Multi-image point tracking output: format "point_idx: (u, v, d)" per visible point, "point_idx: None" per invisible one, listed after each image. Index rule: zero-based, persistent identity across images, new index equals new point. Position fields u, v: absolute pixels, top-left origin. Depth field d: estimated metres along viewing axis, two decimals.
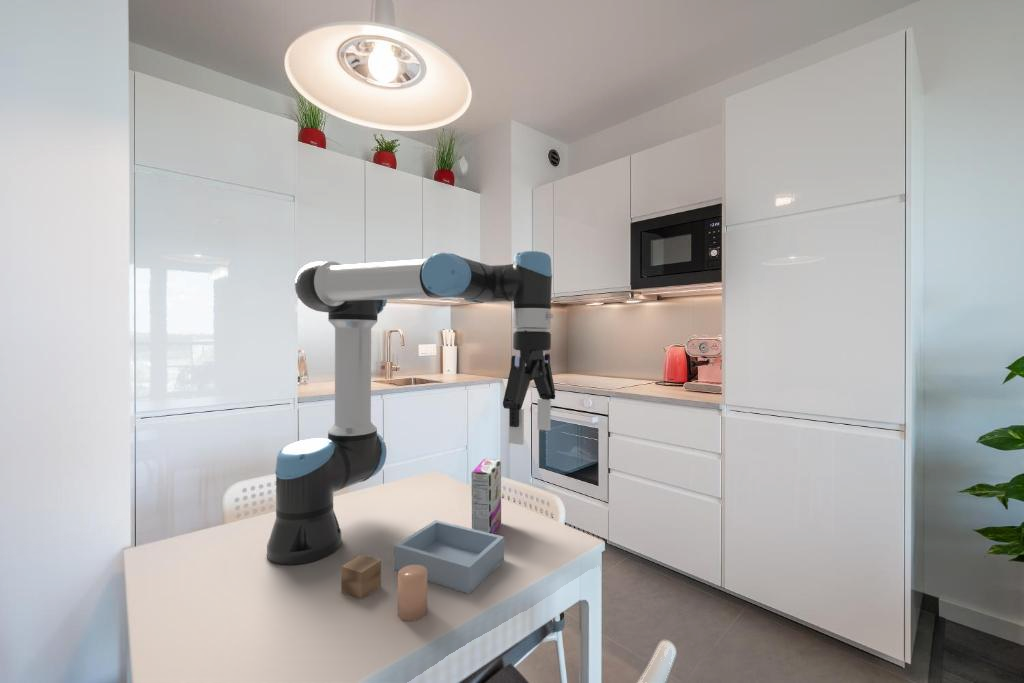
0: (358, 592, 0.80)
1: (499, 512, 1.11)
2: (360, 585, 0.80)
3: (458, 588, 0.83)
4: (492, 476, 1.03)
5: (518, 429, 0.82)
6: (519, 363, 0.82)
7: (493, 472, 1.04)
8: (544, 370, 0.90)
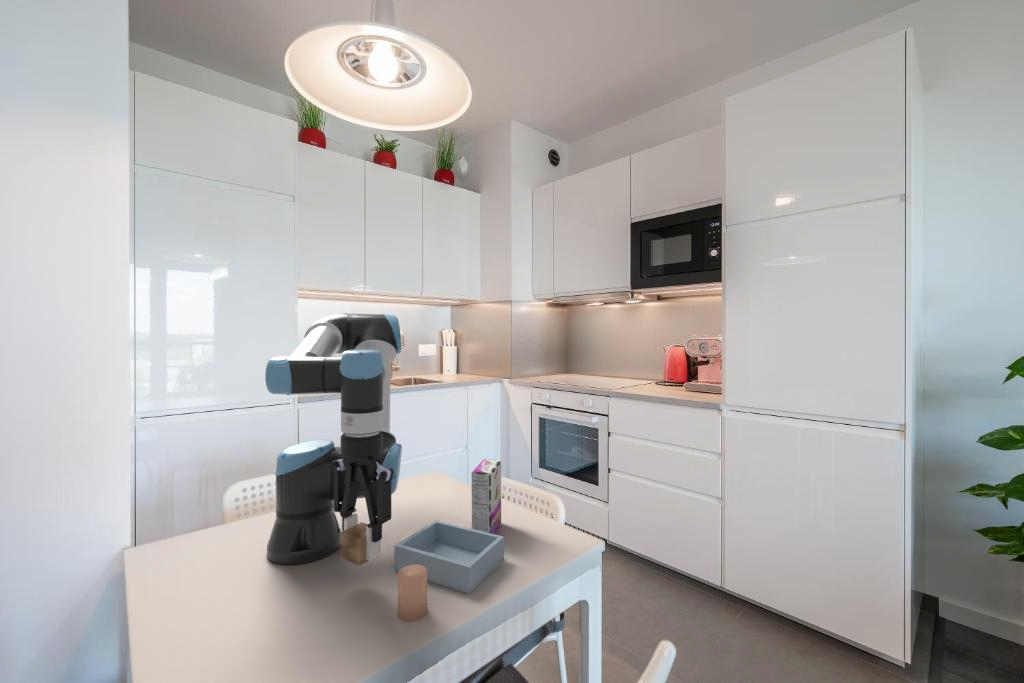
0: (357, 558, 0.80)
1: (499, 512, 1.11)
2: (359, 551, 0.80)
3: (458, 588, 0.83)
4: (492, 476, 1.03)
5: None
6: None
7: (493, 472, 1.04)
8: (362, 481, 0.81)
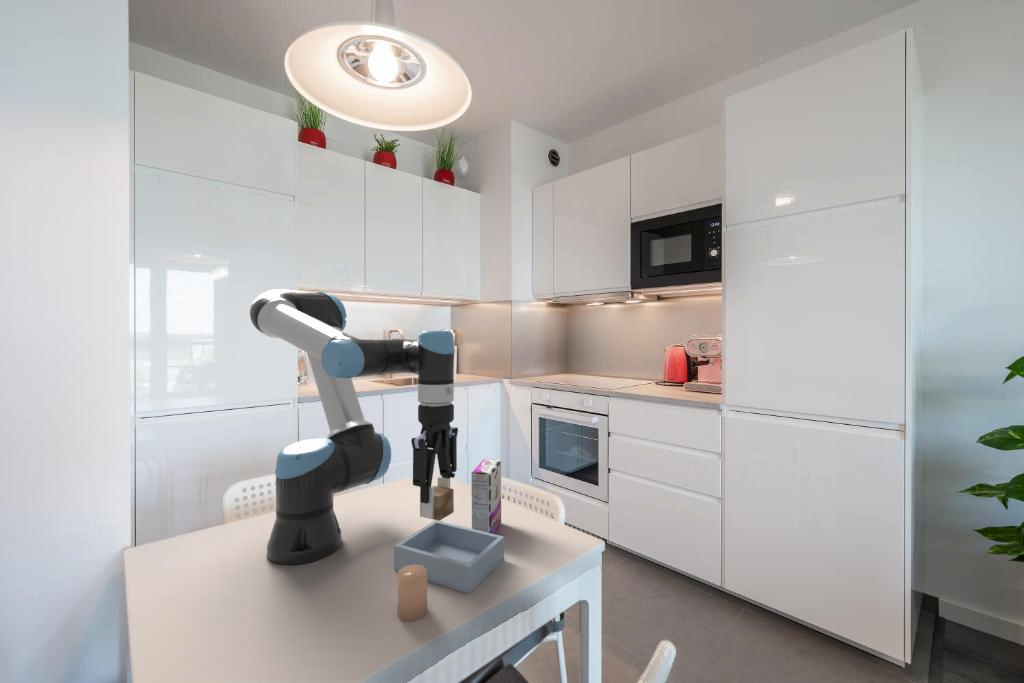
0: (451, 507, 0.94)
1: (499, 512, 1.11)
2: (453, 499, 0.94)
3: (458, 588, 0.83)
4: (492, 476, 1.03)
5: (428, 504, 0.91)
6: (419, 446, 0.88)
7: (493, 472, 1.04)
8: (447, 442, 0.94)
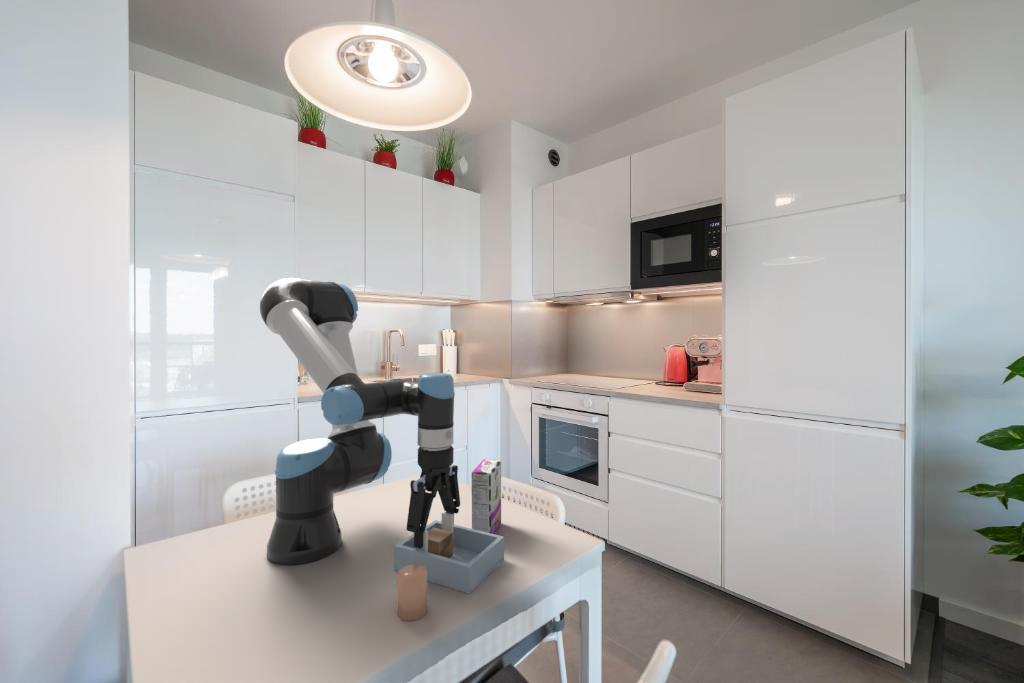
0: (450, 551, 0.94)
1: (499, 512, 1.11)
2: (452, 543, 0.95)
3: (458, 588, 0.83)
4: (492, 476, 1.03)
5: (422, 549, 0.89)
6: (417, 490, 0.88)
7: (493, 472, 1.04)
8: (447, 483, 0.95)
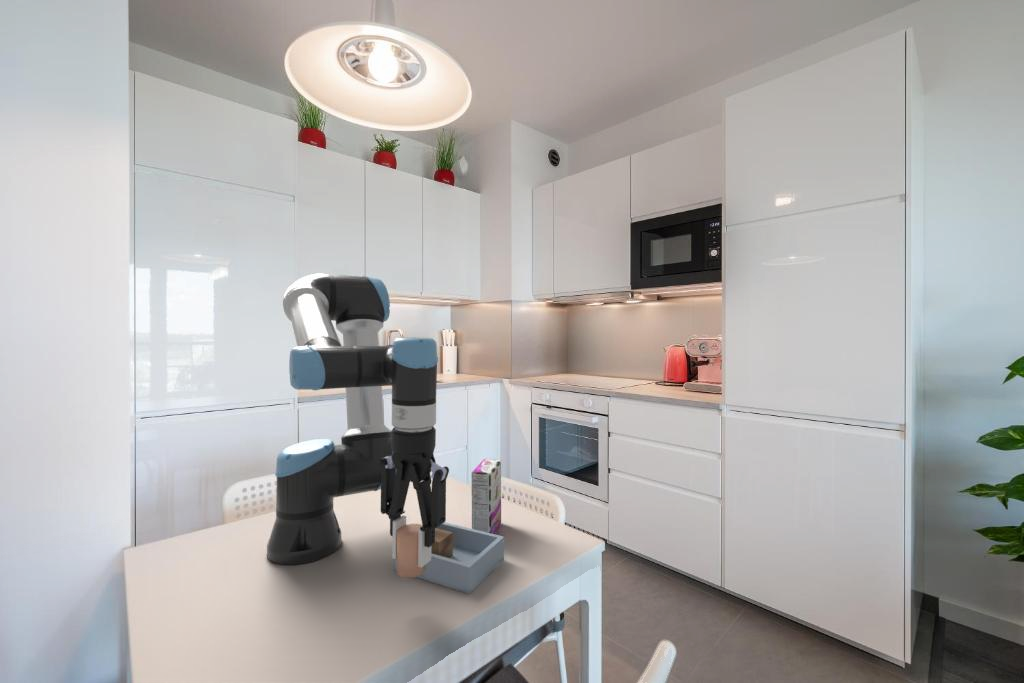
0: (450, 551, 0.94)
1: (499, 512, 1.11)
2: (452, 543, 0.95)
3: (458, 588, 0.83)
4: (492, 476, 1.03)
5: None
6: None
7: (493, 472, 1.04)
8: (414, 480, 0.74)
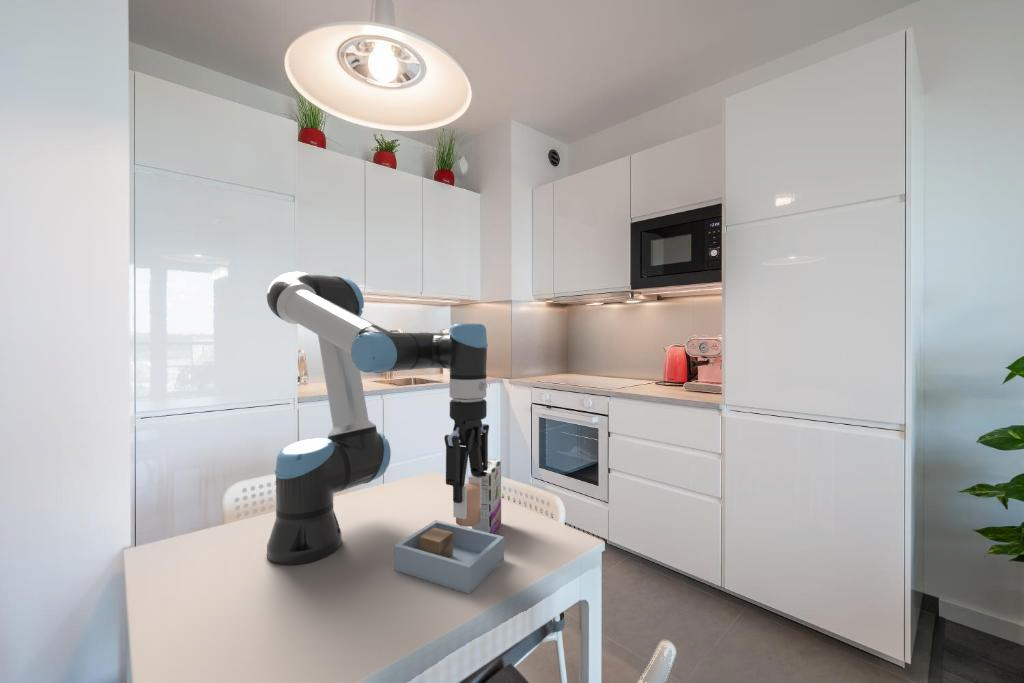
0: (450, 551, 0.94)
1: (499, 512, 1.11)
2: (452, 543, 0.95)
3: (458, 588, 0.83)
4: (492, 476, 1.03)
5: (461, 504, 0.87)
6: (452, 444, 0.84)
7: (493, 472, 1.04)
8: (479, 439, 0.91)
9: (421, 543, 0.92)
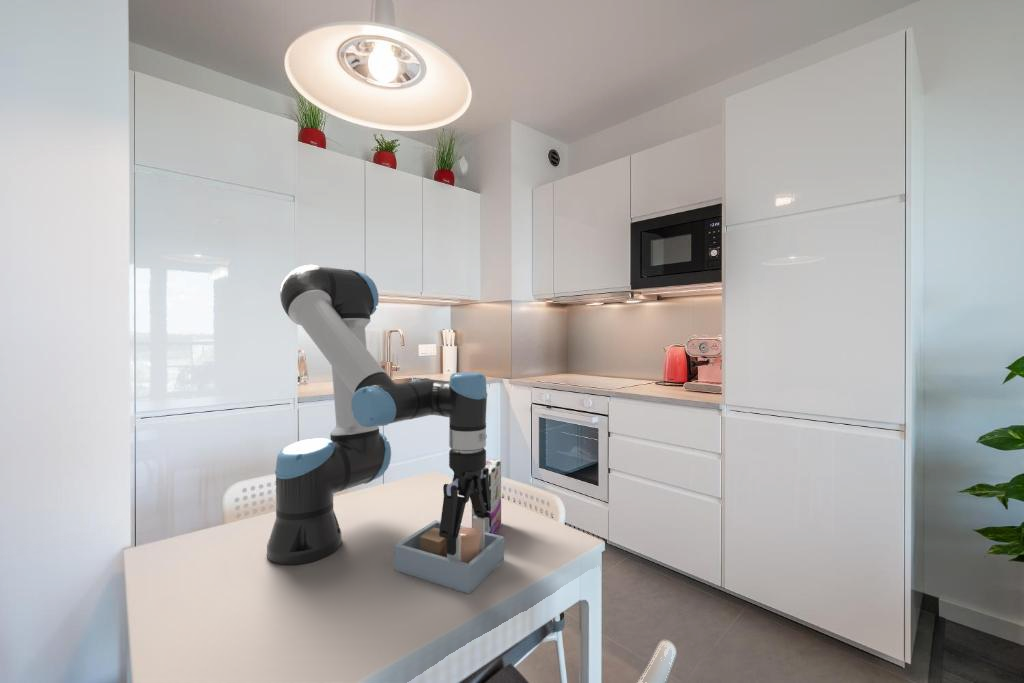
0: None
1: (499, 512, 1.11)
2: None
3: (458, 588, 0.83)
4: (492, 476, 1.03)
5: (455, 556, 0.86)
6: (450, 494, 0.84)
7: (493, 472, 1.04)
8: (479, 487, 0.91)
9: (421, 543, 0.92)
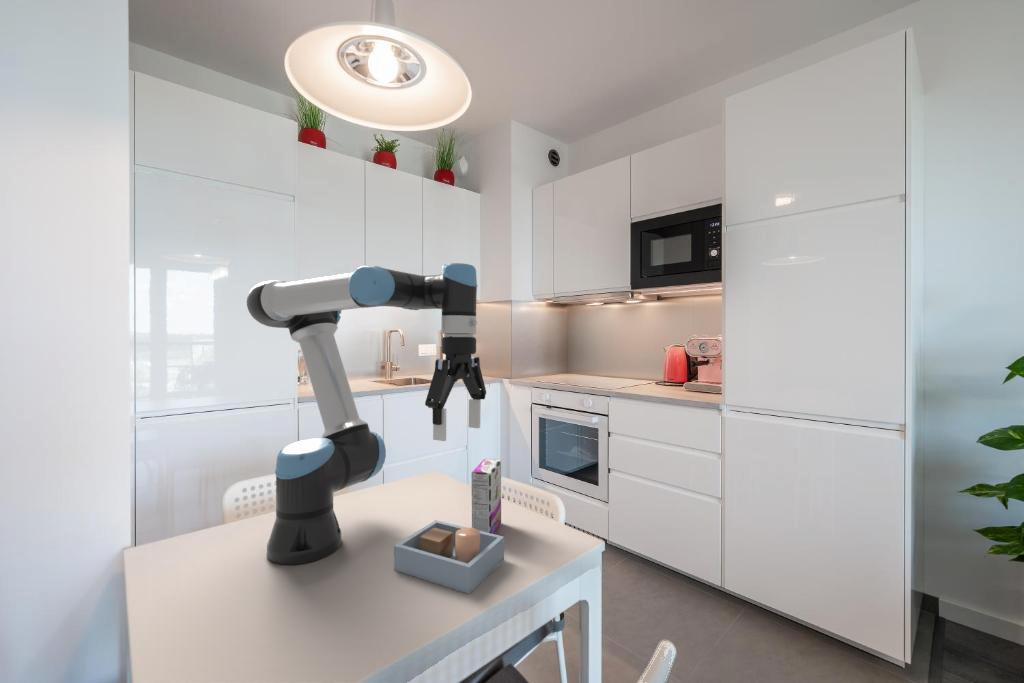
0: (450, 551, 0.94)
1: (499, 512, 1.11)
2: (452, 543, 0.95)
3: (458, 588, 0.83)
4: (492, 476, 1.03)
5: (441, 427, 0.89)
6: (442, 366, 0.89)
7: (493, 472, 1.04)
8: (471, 372, 0.97)
9: (421, 543, 0.92)
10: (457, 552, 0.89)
